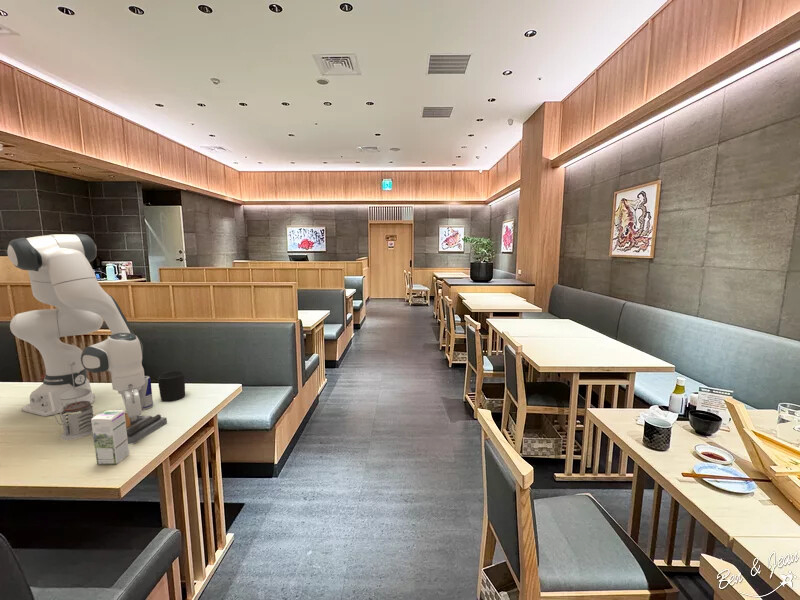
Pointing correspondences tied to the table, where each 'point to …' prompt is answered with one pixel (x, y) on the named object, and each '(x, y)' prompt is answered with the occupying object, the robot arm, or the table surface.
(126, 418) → the lever
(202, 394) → the table surface
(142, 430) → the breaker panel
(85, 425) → the french press
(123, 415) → the syrup box
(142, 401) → the energy drink
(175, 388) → the pen holder
